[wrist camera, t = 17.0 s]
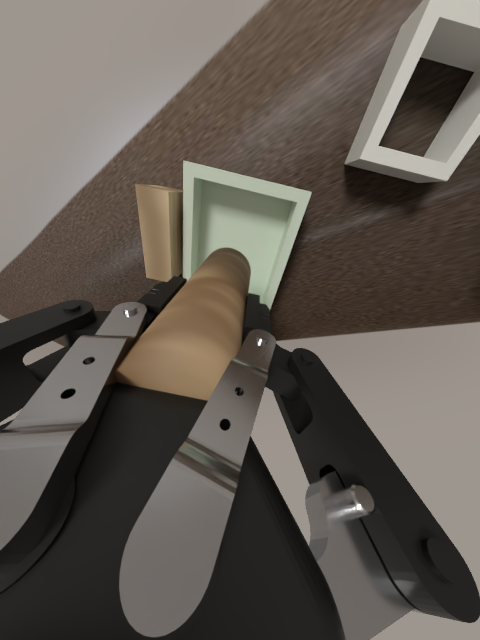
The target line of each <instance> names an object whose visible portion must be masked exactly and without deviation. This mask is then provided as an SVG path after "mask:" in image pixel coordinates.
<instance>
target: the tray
mask: <svg viewBox="0 0 480 640" xmlns="http://www.w3.org/2000/svg"><path fill="white" fill-rule="evenodd" d="M311 193H312V192H309V191H305V190H301V189H297V188H293V187H289V186H285V185H281V184H277V183H273V182H269V181H265V180H260V179H256V178H252V177H248V176H244V175H240V174H236V173H232V172H228V171H224V170H220V169H216V168H212V167H208V166H204V165H200V164H196V163H192V162H188V161H184V160H183V278H186V279H187V281H188V280H189V279H190V277H191V276H192V275H193V274H194V273H195V272H196V270H197V269H198V268H199V267H200V266H201V264H202V263H203V262H204V261H205V260H206V259H207V257H208V256H209V255H210V254H211V253H212V252H213V251H215V250H217V249H219V248H233V249H236V250H238V251H239V252H241V253H242V254H243V255H244V256H245V257H246V258H247V260H248V262H249V264H250V268H251V276H250V283H249V291H248V293H252V294H256V295H260V303H262V304H266V305H267V307H268V308H269V309H271V306H272V303H273V300H274V297H275V295H276V292H277V289H278V286H279V283H280V281H281V278H282V275H283V272H284V269H285V266H286V264H287V261H288V258H289V255H290V252H291V249H292V247H293V244H294V241H295V238H296V235H297V233H298V230H299V227H300V224H301V221H302V218H303V216H304V213H305V210H306V207H307V204H308V202H309V199H310V196H311Z"/></svg>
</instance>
